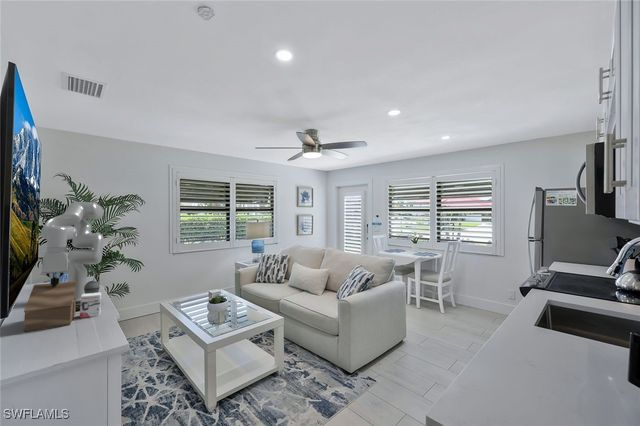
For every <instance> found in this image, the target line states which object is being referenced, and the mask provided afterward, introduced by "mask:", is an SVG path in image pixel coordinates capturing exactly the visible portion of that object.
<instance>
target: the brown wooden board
mask: <svg viewBox="0 0 640 426" xmlns="http://www.w3.org/2000/svg"><path fill="white" fill-rule="evenodd" d="M76 283H77V281H74V282H67V281H66V282H65V281H63V282H59V284H57V286H52V285H51V282H50V283H40V284H33V287H32V289H31V292H30V295H29V297H28V299H27V302H26V305H25V308H24V310H23V313H25V312H32V311H41V310H49V309H58V308H66V307H71V305H72V301H73V296H74V292H75V288H76Z"/></svg>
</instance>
